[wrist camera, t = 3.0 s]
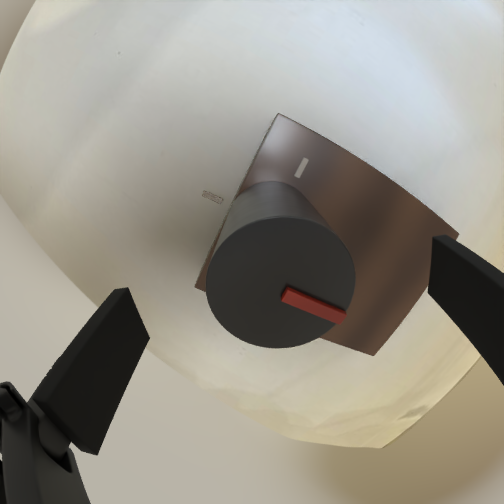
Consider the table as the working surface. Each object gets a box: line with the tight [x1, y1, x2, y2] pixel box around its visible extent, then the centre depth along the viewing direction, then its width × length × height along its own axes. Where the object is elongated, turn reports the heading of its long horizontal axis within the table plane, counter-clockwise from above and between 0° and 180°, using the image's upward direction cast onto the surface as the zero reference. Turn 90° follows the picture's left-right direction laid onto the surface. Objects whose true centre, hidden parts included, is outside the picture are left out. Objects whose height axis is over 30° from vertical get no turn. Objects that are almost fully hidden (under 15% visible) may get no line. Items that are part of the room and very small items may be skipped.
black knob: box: [205, 181, 356, 348], centre depth 15 cm, size 6×6×9 cm
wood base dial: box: [195, 113, 459, 356], centre depth 21 cm, size 20×14×3 cm
